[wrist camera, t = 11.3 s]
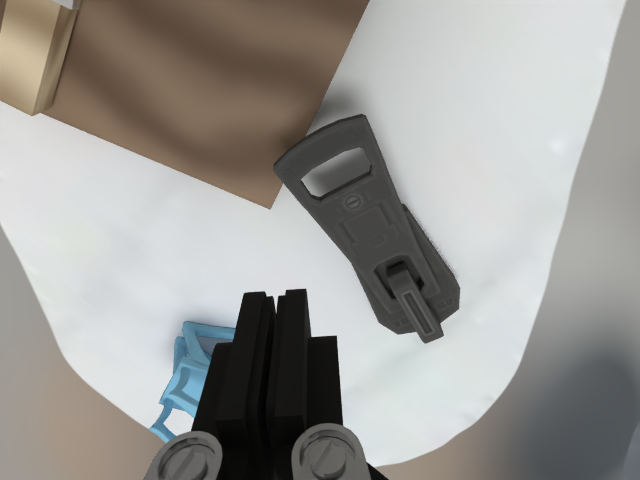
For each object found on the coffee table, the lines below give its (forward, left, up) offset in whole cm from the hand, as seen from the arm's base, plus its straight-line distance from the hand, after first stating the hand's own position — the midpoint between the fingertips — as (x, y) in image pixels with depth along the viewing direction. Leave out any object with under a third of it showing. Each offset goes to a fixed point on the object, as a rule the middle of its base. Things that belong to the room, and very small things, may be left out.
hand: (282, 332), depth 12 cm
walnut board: (-2, -11, -27) cm, 29 cm away
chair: (+28, +2, -27) cm, 39 cm away
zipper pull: (+7, +11, -27) cm, 30 cm away
